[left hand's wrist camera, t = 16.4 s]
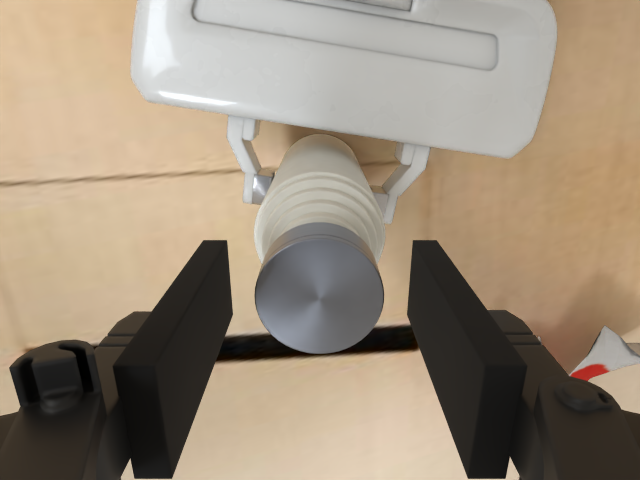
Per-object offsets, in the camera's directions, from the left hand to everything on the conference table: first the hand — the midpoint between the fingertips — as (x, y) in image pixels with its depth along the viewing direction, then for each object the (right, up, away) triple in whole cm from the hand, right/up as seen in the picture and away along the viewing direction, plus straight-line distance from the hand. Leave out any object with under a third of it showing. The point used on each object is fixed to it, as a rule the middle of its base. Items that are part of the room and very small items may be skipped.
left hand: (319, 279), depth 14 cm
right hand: (0, +3, +11) cm, 11 cm away
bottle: (0, +6, +16) cm, 17 cm away
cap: (0, 0, -1) cm, 1 cm away
